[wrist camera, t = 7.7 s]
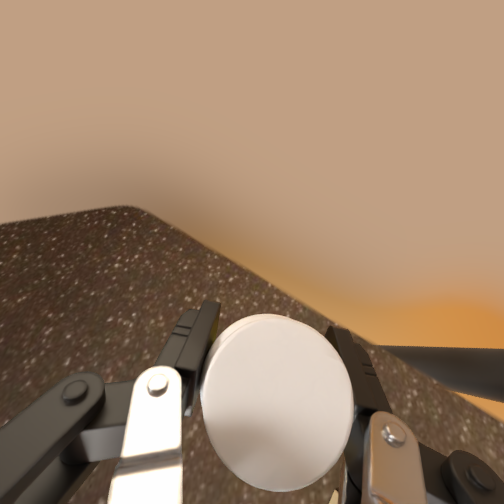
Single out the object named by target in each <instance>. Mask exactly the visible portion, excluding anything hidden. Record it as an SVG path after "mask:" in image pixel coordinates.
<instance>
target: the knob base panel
mask: <svg viewBox="0 0 504 504" xmlns="http://www.w3.org/2000/svg"><path fill="white" fill-rule="evenodd" d="M338 494H339V492H338V491H336V490H334V492H333V495H332V497H331V500H330V502H329V504H338Z"/></svg>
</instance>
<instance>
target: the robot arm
mask: <svg viewBox="0 0 504 504" xmlns="http://www.w3.org/2000/svg"><path fill="white" fill-rule="evenodd" d="M220 308H221V303H219V302H214V301H209V300H204V302H203V304H202V306H201V308H200V310H194V309H189V310H188V311H186V312H185V313H184V314H182V315H181V316H180V318H179V320H178V322H177V324H176V326H175V327H174V329H173V331H172V334H171V335H170V336H169V338H168V340H167V342H166V344H165V346H164V347H163V349H162V351H161V353H160V355H159V357H158V358H157V360H156V362H155V364H154V365H153V367H152V368H150V369H148V370H146V371H145V372H143V373H142V374H141V375H140V376H139V377H138V378H136V379H133V380H130V381H122V382H112V383H104V380H103V378H102V377H101V376H100V375H99V374H97V373H94V372H79V373H75V374H72V375H70V376H67V377H65V378H64V379H62V380H61V381H59V382H58V383H56V384H55V385H54V386H53V387H51V388H50V389H49V390H48V391H46V392H45V393H44V394H43V395H41V396H40V397H39V398H38V399H36V400H35V401H34V402H33V403H31V404H30V405H29V406H28V407H26V408H25V409H24V410H23V411H21V412H20V413H19V414H17V415H16V416H15V417H14V418H12V419H11V420H10V421H9V422H7V423H6V424H5V425H4V426H2V427H1V428H0V504H67V502H68V501H69V500H70V499H71V497H72V496H73V495H74V494H75V492H76V491H77V490H78V489H79V487H80V486H81V485H82V484H83V482H84V481H85V480H86V479H87V477H88V476H89V475H90V474H91V472H92V471H93V470H94V469H95V467H96V466H97V465H98V464H99V462H100V461H101V460H105V459H111V458H116V457H120V460H119V463H118V465H117V466H116V468H115V471H114V474H113V478H112V482H111V487H110V492H109V497H108V502H107V504H182V454H181V423H182V420H183V417H184V416H189V417H191V416H192V413H193V409H194V406H195V403H196V400H197V397H198V393H199V390H200V379H201V373H202V368H203V364H204V361H205V358H206V356H207V354H208V352H209V350H210V348H211V346H212V345H213V343H214V342H215V338H216V333H217V328H218V321H219V315H220ZM325 338H326V339H327V340H328V341H329V343H330V344H331V345H332V346H333V347H334V349H335V350H336V351H337V352H338V354H339V356H340V357H341V359H342V361H343V363H344V365H345V367H346V369H347V372H348V375H349V378H350V382H351V385H352V391H353V399H354V414H353V422H352V428H351V432H350V436H349V438H348V441H347V444H346V446H345V449H344V455H345V460H344V462H343V464H342V467H341V475H340V485H339V494H338V504H504V483H503V481H502V480H501V479H500V478H499V476H498V475H497V474H496V473H495V472H494V471H493V470H492V469H491V468H490V467H489V466H488V465H487V464H486V463H484V462H483V461H482V460H480V459H479V458H477V457H476V456H474V455H472V454H470V453H468V452H466V451H462V450H456V451H454V452H452V453H451V454H450V455H449V456H448V457H446V456H444V455H442V454H440V453H439V452H437V451H435V450H433V449H431V448H429V447H427V446H425V445H423V444H421V443H420V442H418V441H417V439H416V437H415V436H414V434H413V432H412V431H411V430H410V428H409V427H408V426H407V425H406V424H405V423H404V422H403V421H402V420H400V419H399V418H398V417H396V416H394V415H393V413H392V410H391V408H390V406H389V403H388V401H387V398H386V396H385V394H384V391H383V389H382V386H381V384H380V382H379V379H378V377H376V372H375V370H374V368H373V367H372V366H373V365H372V363H371V360H370V358H369V356H368V354H367V353H366V351H365V350H364V349H363V348H362V347H361V345H360V344H358V343H354V342H353V339H352V337H351V334H350V332H349V330H348V329H345V328H340V327H335V326H329V328H328V329H327V332H326V334H325Z"/></svg>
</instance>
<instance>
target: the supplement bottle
mask: <svg viewBox="0 0 504 504" xmlns="http://www.w3.org/2000/svg"><path fill="white" fill-rule="evenodd" d="M200 397H201V404H202V408H203V417H204V423H205V428H206V431H207V434H208V437H209V440H210V442H211V444H212V446H213V448H214V450H215V452H216V453H217V455H218V457H219V458H220V459H221V461H222V462H223V463H224V464H225V466H226V467H227V468H228V469H229V470H230V471H231V472H232V473H234V474H235V475H236V476H237V477H239V478H240V479H241V480H243V481H244V482H246V483H248V484H250V485H252V486H254V487H257V488H260V489H264V490H268V491H275V492H286V491H292V490H297V489H301V488H303V487H306V486H308V485H310V484H312V483H314V482H315V481H317V480H318V479H319V478H321V477H322V476H324V475H325V474H326V473H327V472H328V471H329V470H330V469H331V468H332V467H333V466H334V464H335V463H336V462H337V460H338V459H339V457H340V456H341V454H342V452H343V451H344V449H345V446H346V444H347V441H348V438H349V436H350V432H351V428H352V422H353V414H354V399H353V391H352V385H351V382H350V378H349V375H348V372H347V369H346V367H345V365H344V363H343V361H342V359H341V357H340V356H339V354H338V352H337V351H336V350H335V349H334V347H333V346H332V345H331V344H330V343H329V341H328V340H327V339H326V338H325V337H324V336H322V335H321V334H320V333H319V332H317V331H316V330H314V329H313V328H311V327H310V326H308V325H306V324H303V323H301V322H298V321H295V320H293V319H290V318H288V317H284V316H281V315H275V314H257V315H252V316H248V317H246V318H243V319H241V320H239V321H237V322H235V323H234V324H232V325H230V326H229V327H228V328H227V329H226V330H224V331H223V332H222V333H221V334H220V335H219V337H218V338H217V339H216V340H215V342H214V343H213V345H212V346H211V348H210V350H209V352H208V354H207V356H206V358H205V361H204V364H203V368H202V373H201V379H200Z"/></svg>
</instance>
